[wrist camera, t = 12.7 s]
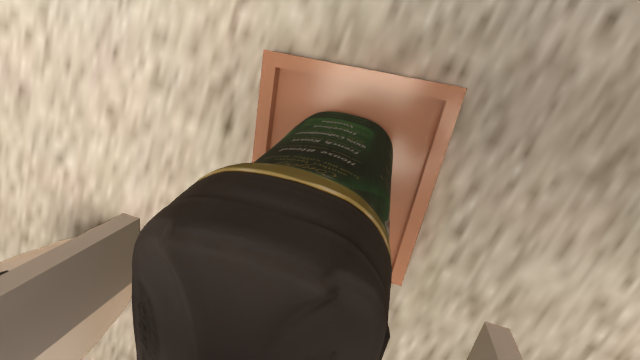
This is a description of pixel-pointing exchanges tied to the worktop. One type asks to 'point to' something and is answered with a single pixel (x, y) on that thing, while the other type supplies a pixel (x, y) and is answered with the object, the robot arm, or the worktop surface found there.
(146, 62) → the worktop surface
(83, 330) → the jar
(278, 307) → the coffee jar
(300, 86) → the tray
